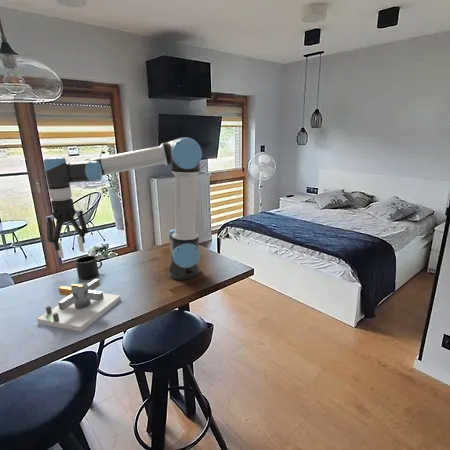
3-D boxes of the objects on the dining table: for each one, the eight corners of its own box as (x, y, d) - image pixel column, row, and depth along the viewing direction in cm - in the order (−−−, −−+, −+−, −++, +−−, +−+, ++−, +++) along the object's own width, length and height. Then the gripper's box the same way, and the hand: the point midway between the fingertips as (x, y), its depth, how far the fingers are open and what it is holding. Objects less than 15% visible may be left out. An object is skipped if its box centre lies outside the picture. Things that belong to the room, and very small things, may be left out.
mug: (106, 274, 158) (103, 257, 155) (81, 282, 151) (78, 264, 148) (100, 269, 165) (97, 252, 162) (76, 275, 158) (73, 259, 155)
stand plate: (120, 299, 133) (119, 289, 131) (79, 333, 111) (76, 320, 110) (82, 294, 139) (80, 283, 138) (36, 324, 117) (33, 312, 116)
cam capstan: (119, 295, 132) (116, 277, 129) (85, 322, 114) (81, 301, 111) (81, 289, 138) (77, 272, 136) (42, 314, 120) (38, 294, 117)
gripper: (83, 193, 131) (91, 245, 137) (28, 202, 116) (41, 259, 123) (91, 195, 126) (100, 248, 132) (36, 204, 111) (48, 264, 118)
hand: (72, 254), depth 128 cm, fingers open, 8 cm apart
